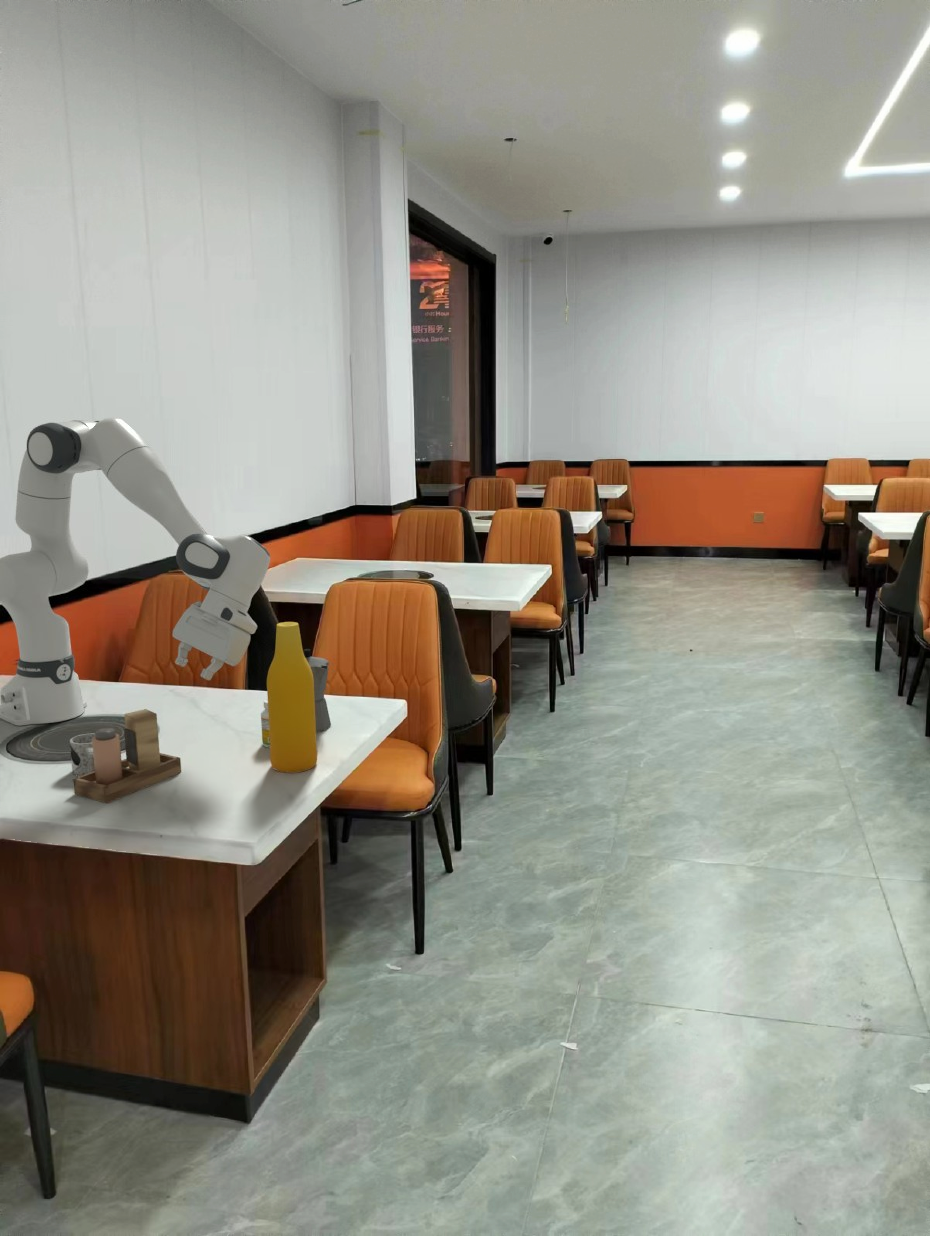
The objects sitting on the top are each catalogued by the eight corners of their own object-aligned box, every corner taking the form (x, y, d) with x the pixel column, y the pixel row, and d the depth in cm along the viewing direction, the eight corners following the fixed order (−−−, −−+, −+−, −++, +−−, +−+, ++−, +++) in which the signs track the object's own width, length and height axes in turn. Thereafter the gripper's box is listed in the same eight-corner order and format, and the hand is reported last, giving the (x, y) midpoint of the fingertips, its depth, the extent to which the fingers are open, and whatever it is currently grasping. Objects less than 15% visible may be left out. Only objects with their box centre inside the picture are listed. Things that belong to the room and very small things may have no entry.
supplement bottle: (278, 738, 216) (276, 695, 214) (293, 743, 212) (291, 700, 210) (257, 744, 212) (255, 700, 210) (271, 750, 208) (269, 705, 206)
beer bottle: (273, 758, 203) (266, 619, 197) (319, 756, 204) (313, 618, 198) (268, 774, 194) (260, 629, 188) (315, 772, 195) (309, 628, 189)
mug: (71, 767, 199) (68, 736, 198) (106, 762, 202) (103, 731, 200) (74, 784, 190) (71, 751, 189) (111, 779, 193) (108, 746, 191)
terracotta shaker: (90, 784, 186) (85, 732, 184) (111, 776, 190) (106, 725, 188) (108, 789, 183) (103, 736, 181) (128, 781, 187) (124, 729, 185)
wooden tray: (74, 794, 185) (73, 778, 185) (149, 764, 200) (148, 750, 200) (107, 803, 181) (105, 787, 180) (181, 772, 196) (180, 757, 195)
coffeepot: (345, 727, 222) (343, 649, 219) (313, 738, 215) (309, 657, 212) (301, 714, 232) (298, 639, 229) (269, 724, 225) (265, 647, 222)
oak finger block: (126, 768, 193) (121, 714, 191) (150, 762, 197) (145, 709, 194) (136, 774, 190) (132, 719, 188) (160, 767, 194) (156, 713, 191)
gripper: (183, 593, 209) (153, 652, 207) (240, 617, 195) (208, 681, 194) (205, 604, 213) (176, 662, 211) (262, 629, 200) (231, 691, 198)
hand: (191, 671), depth 202 cm, fingers open, 8 cm apart
